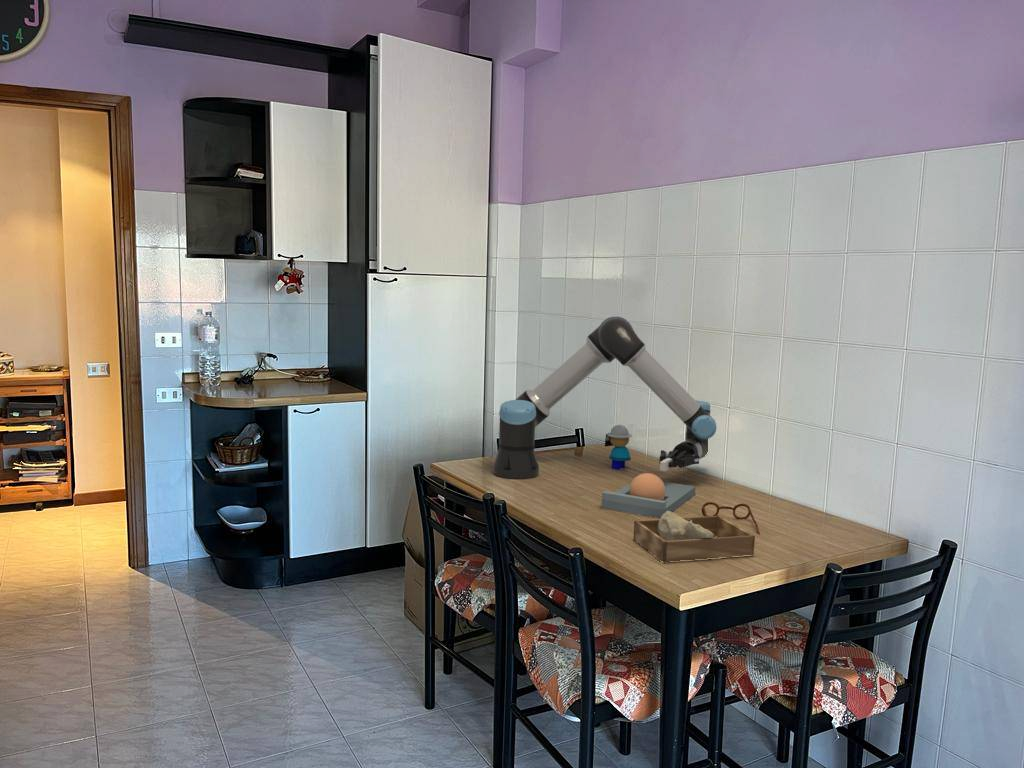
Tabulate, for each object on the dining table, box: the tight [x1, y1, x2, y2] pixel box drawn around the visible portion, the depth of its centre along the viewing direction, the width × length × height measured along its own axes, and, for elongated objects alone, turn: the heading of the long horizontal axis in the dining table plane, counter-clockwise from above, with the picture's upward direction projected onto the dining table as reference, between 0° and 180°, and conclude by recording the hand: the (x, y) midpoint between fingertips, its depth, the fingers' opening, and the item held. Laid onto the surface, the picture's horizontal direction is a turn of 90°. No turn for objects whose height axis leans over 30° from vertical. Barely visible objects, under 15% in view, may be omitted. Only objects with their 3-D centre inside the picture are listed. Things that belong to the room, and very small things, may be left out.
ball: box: [630, 472, 665, 501], centre depth 224 cm, size 10×10×10 cm
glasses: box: [701, 501, 761, 535], centre depth 211 cm, size 13×13×5 cm
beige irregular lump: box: [658, 511, 715, 541], centre depth 191 cm, size 15×7×15 cm
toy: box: [604, 424, 633, 471], centre depth 272 cm, size 8×9×15 cm
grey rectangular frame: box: [601, 480, 696, 519], centre depth 232 cm, size 30×18×4 cm, turn 151°
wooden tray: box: [632, 515, 756, 562], centre depth 192 cm, size 16×23×5 cm
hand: (662, 466), depth 238 cm, fingers closed
